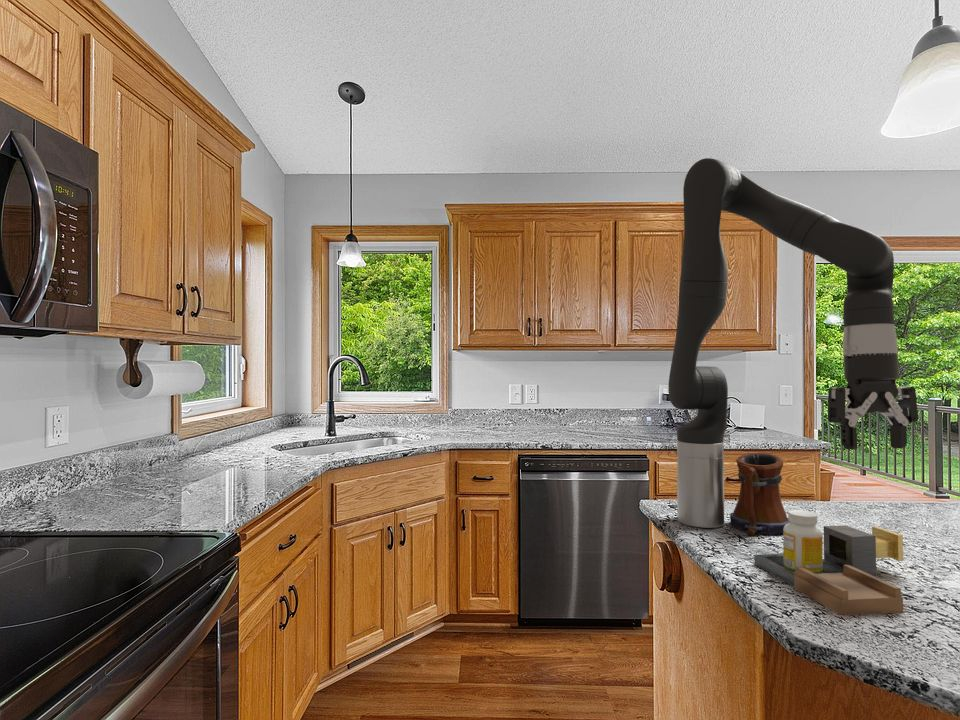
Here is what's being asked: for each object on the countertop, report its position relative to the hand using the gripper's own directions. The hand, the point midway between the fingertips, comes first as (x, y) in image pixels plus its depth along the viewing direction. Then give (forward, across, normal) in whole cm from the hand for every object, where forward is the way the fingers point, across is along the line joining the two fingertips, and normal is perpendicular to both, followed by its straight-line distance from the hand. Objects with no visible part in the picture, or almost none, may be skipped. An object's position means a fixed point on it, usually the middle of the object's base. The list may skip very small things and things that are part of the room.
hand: (874, 448), depth 92 cm
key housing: (+19, +7, +3) cm, 21 cm away
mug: (+19, +9, -20) cm, 29 cm away
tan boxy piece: (+17, +3, +3) cm, 17 cm away
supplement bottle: (+19, +16, +3) cm, 25 cm away
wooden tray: (+19, +16, +13) cm, 28 cm away
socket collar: (+19, +16, +3) cm, 25 cm away
